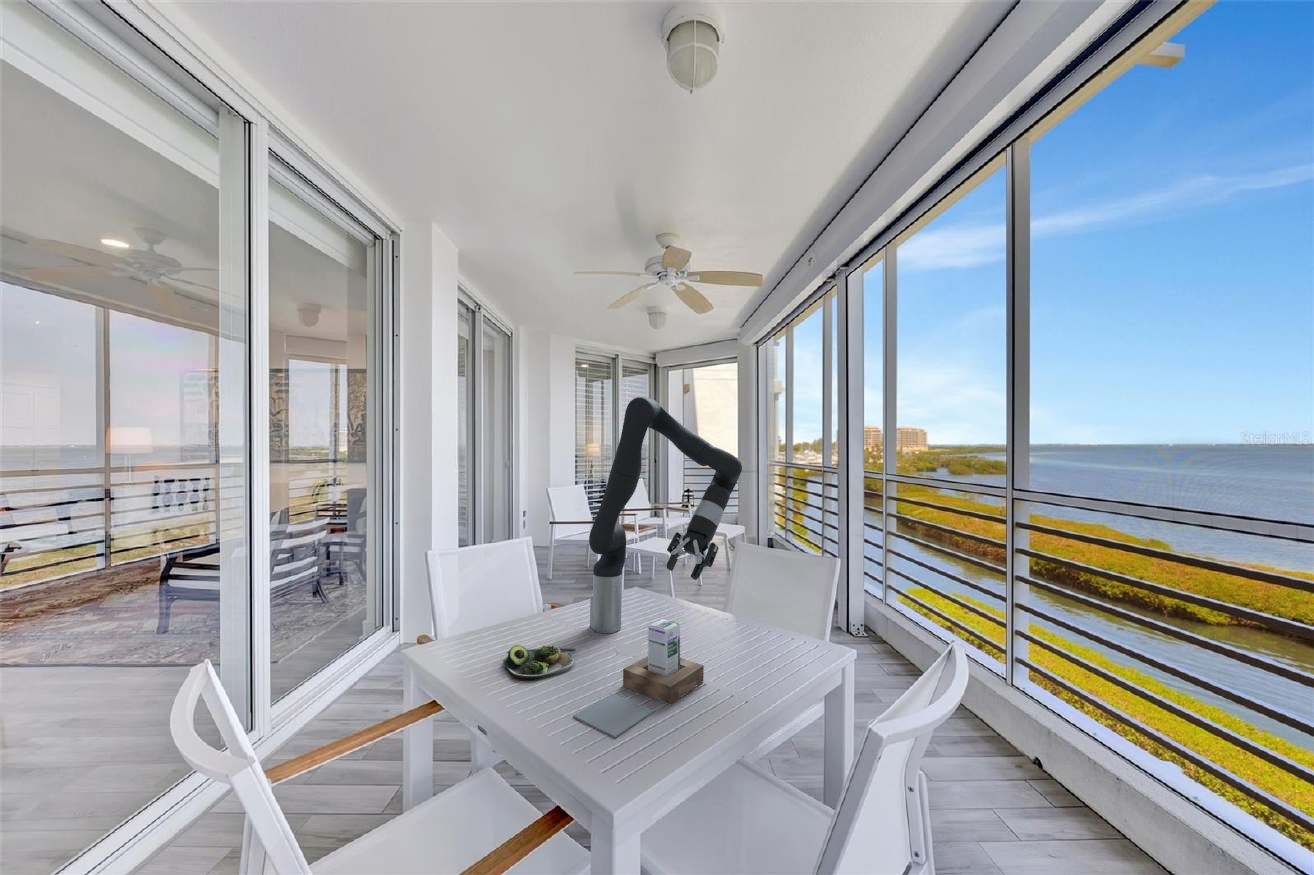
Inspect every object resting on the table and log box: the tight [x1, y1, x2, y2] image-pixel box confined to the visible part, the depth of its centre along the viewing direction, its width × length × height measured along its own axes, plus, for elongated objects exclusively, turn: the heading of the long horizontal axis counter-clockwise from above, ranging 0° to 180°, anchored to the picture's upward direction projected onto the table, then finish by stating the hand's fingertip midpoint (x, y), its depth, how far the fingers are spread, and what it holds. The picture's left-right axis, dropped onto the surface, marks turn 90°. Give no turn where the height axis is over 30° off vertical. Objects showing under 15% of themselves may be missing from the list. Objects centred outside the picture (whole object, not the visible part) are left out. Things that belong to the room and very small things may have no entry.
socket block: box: [622, 655, 705, 705], centre depth 116 cm, size 14×14×4 cm
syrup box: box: [647, 618, 681, 677], centre depth 117 cm, size 6×6×14 cm
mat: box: [572, 693, 654, 740], centre depth 102 cm, size 12×12×1 cm
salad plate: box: [502, 644, 577, 682], centre depth 127 cm, size 19×18×5 cm
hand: (681, 574), depth 127 cm, fingers open, 8 cm apart
